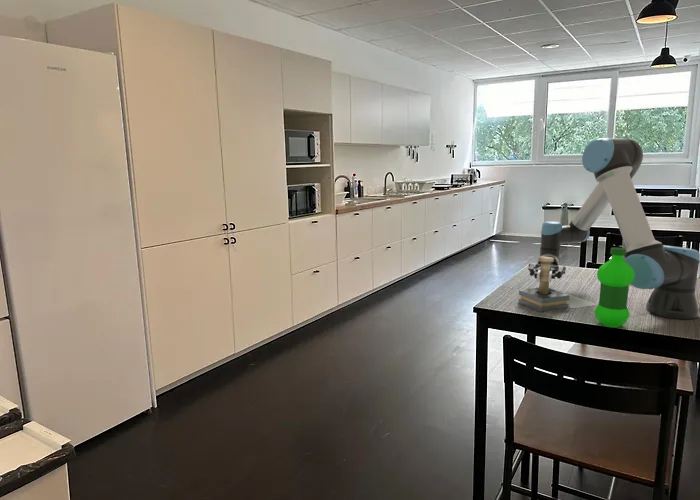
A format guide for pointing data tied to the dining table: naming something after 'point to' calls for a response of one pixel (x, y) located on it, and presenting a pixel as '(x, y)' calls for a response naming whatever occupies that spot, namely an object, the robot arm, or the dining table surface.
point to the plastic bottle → (614, 289)
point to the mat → (578, 302)
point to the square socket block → (543, 299)
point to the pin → (544, 274)
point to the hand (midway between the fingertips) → (543, 278)
